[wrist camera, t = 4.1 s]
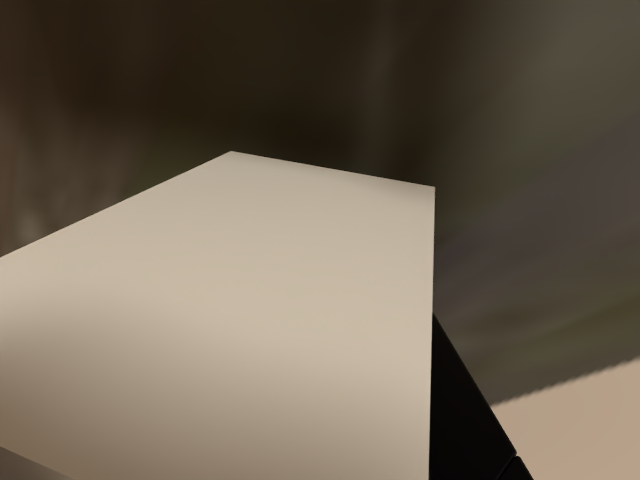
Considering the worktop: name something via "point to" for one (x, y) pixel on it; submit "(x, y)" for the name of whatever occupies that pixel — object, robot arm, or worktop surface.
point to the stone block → (225, 332)
